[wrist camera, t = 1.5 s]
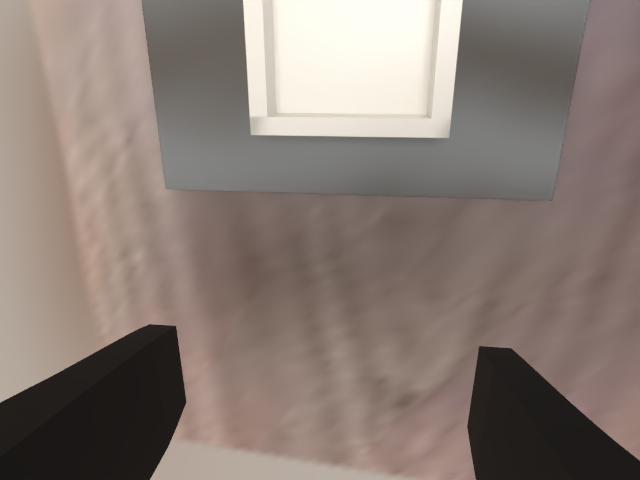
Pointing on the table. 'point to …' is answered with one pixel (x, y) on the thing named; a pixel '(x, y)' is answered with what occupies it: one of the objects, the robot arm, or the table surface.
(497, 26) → the overhang board
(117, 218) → the table surface
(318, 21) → the tray shell
